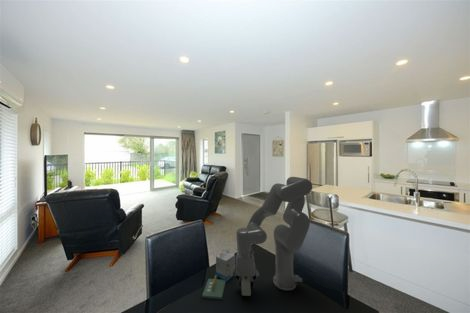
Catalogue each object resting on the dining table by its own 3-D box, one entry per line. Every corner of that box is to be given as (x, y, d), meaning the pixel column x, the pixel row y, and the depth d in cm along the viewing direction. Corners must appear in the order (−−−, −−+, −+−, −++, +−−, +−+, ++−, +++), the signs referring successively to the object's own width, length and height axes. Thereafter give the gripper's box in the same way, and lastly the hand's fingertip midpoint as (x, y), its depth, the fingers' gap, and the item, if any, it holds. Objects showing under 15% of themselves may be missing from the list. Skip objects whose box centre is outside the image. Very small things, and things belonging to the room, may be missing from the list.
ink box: (226, 282, 97) (226, 258, 97) (215, 275, 102) (215, 253, 102) (235, 273, 103) (235, 251, 104) (225, 268, 109) (224, 247, 109)
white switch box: (251, 281, 94) (250, 269, 94) (250, 295, 85) (249, 282, 85) (243, 281, 95) (242, 269, 95) (241, 295, 85) (241, 282, 85)
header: (225, 282, 97) (225, 272, 97) (221, 299, 85) (221, 288, 85) (208, 280, 98) (208, 270, 98) (202, 297, 86) (201, 286, 86)
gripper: (260, 249, 92) (262, 282, 92) (229, 249, 94) (231, 281, 94) (261, 257, 85) (263, 293, 85) (227, 257, 87) (229, 292, 87)
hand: (246, 287), depth 90 cm, fingers closed on white switch box, 4 cm apart
